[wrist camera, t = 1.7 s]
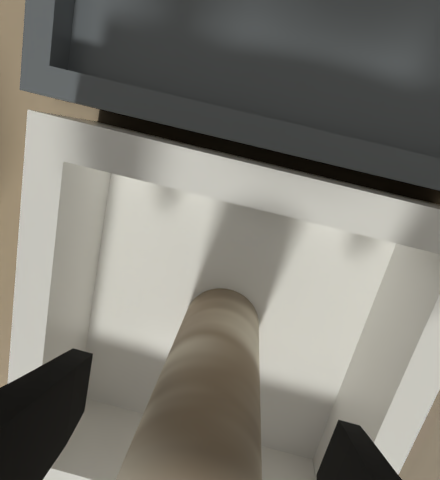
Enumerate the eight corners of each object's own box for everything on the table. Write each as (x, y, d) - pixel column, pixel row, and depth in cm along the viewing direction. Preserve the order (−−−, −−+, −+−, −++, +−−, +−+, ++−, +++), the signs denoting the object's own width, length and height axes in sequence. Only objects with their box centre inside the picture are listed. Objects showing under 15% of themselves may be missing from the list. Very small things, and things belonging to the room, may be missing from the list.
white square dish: (62, 398, 18) (0, 478, 14) (96, 121, 14) (27, 109, 10) (326, 470, 18) (349, 576, 13) (434, 203, 14) (517, 228, 9)
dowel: (179, 344, 16) (105, 535, 8) (193, 280, 15) (126, 424, 7) (248, 362, 15) (241, 574, 8) (267, 299, 15) (280, 466, 7)
